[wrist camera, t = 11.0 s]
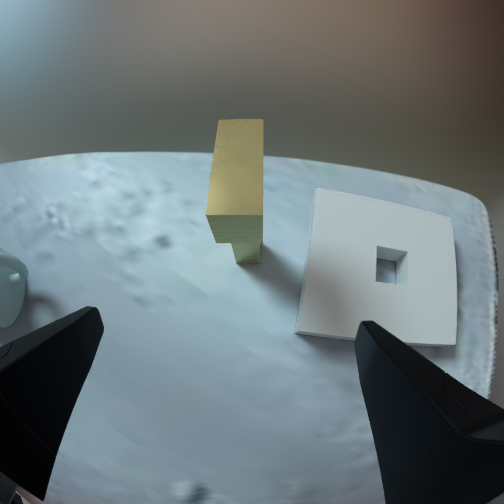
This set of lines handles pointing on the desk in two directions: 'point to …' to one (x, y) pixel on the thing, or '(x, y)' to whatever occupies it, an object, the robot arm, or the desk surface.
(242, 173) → the t key
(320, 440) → the desk surface
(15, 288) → the mug
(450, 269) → the cover plate
